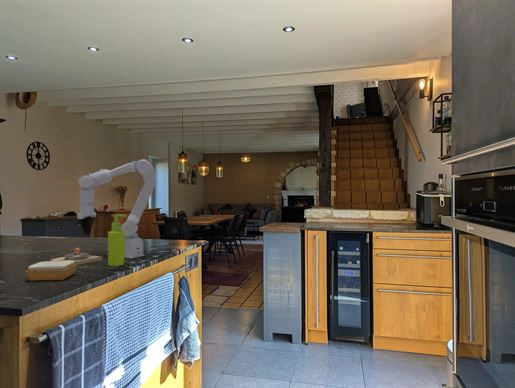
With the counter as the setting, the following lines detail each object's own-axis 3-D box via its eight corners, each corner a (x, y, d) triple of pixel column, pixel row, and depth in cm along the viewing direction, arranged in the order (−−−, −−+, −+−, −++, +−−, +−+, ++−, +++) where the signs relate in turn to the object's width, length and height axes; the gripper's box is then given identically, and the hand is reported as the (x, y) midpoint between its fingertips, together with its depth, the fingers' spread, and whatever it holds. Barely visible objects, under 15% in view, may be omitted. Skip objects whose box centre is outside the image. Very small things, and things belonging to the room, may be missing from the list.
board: (102, 259, 148) (102, 256, 148) (71, 265, 136) (71, 262, 136) (81, 256, 155) (81, 253, 155) (50, 262, 142) (50, 258, 142)
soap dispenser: (120, 266, 135) (120, 215, 135) (105, 265, 136) (105, 214, 136) (129, 263, 140) (129, 214, 140) (114, 262, 142) (114, 213, 142)
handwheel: (63, 256, 147) (63, 246, 147) (87, 254, 152) (87, 245, 152) (65, 260, 139) (65, 249, 139) (90, 258, 144) (90, 247, 144)
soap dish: (77, 274, 122) (77, 260, 122) (65, 281, 113) (65, 266, 113) (40, 275, 121) (40, 260, 121) (24, 282, 111) (24, 266, 111)
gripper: (84, 202, 159) (84, 232, 159) (69, 203, 145) (69, 236, 145) (100, 202, 160) (100, 232, 160) (87, 203, 145) (87, 236, 145)
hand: (87, 234), depth 152 cm, fingers closed
